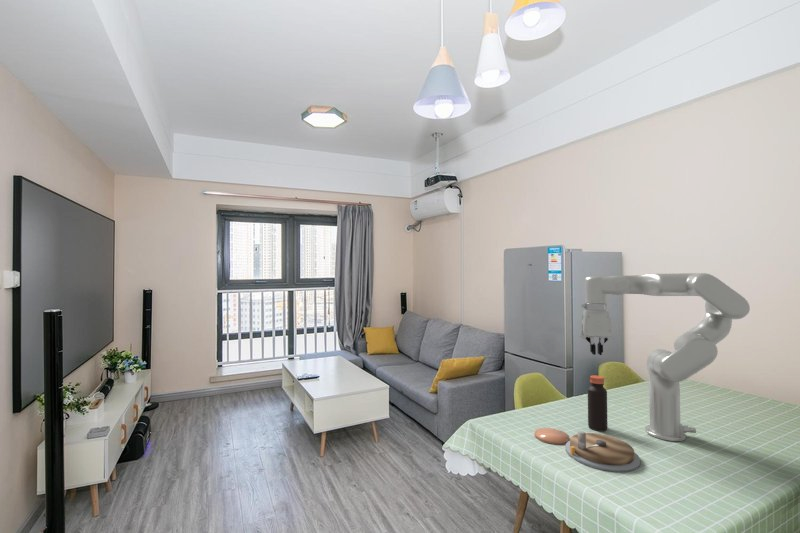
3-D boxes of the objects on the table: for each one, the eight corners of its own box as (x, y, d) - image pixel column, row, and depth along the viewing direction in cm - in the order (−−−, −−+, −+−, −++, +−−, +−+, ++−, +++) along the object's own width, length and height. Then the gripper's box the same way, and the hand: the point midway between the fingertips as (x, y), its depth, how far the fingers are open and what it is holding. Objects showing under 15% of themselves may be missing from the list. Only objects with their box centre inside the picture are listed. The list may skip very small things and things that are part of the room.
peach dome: (565, 432, 146) (565, 429, 146) (572, 445, 134) (572, 443, 134) (532, 429, 149) (532, 426, 149) (536, 442, 137) (536, 439, 137)
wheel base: (626, 443, 136) (626, 434, 136) (651, 475, 114) (651, 464, 114) (560, 437, 141) (560, 428, 141) (572, 467, 119) (572, 456, 119)
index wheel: (584, 434, 141) (584, 415, 141) (643, 452, 126) (642, 431, 127) (559, 449, 128) (559, 428, 129) (621, 471, 114) (621, 448, 114)
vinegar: (610, 432, 146) (609, 379, 146) (590, 430, 147) (590, 378, 147) (604, 425, 152) (603, 375, 153) (586, 424, 154) (585, 374, 154)
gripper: (576, 308, 149) (577, 355, 148) (620, 308, 145) (621, 357, 145) (572, 306, 156) (573, 351, 156) (614, 307, 152) (615, 353, 152)
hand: (596, 353), depth 150 cm, fingers closed
